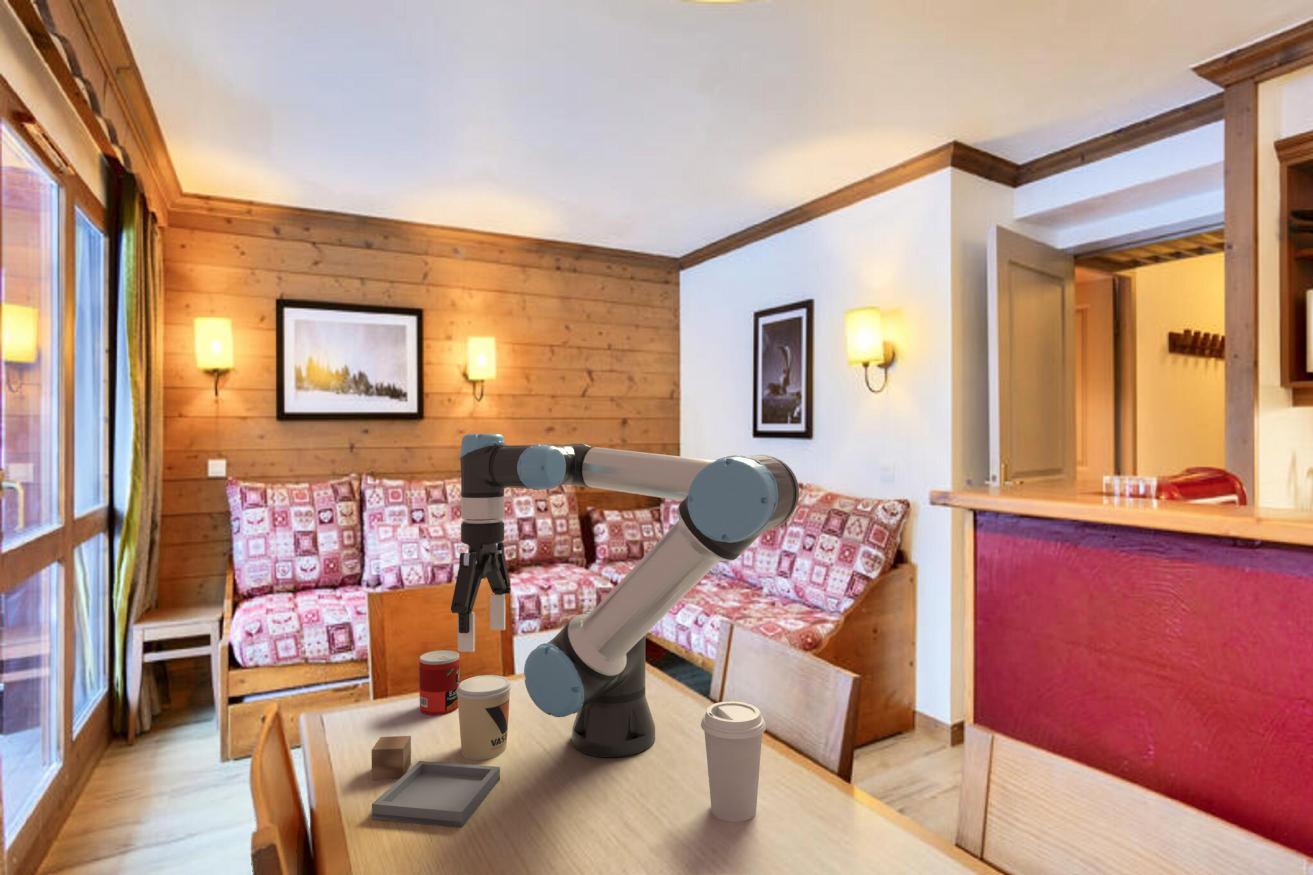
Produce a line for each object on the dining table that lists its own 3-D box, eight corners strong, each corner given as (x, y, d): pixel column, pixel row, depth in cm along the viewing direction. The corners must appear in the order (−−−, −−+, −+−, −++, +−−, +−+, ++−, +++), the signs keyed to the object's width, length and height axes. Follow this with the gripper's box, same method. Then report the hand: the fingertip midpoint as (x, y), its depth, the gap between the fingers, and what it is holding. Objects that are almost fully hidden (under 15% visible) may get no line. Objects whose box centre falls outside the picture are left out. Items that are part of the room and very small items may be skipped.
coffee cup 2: (700, 796, 109) (699, 699, 109) (762, 796, 109) (761, 699, 109) (702, 830, 100) (701, 724, 100) (770, 831, 99) (769, 724, 99)
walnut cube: (410, 764, 120) (410, 735, 121) (403, 778, 116) (403, 748, 116) (380, 766, 120) (380, 736, 120) (371, 780, 115) (371, 749, 115)
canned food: (453, 716, 141) (453, 661, 141) (413, 716, 141) (413, 661, 141) (464, 702, 149) (464, 649, 149) (426, 702, 149) (426, 649, 149)
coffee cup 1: (497, 764, 120) (497, 694, 120) (447, 760, 122) (446, 690, 122) (519, 741, 129) (518, 676, 129) (471, 737, 131) (471, 672, 131)
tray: (499, 780, 115) (499, 766, 115) (462, 827, 101) (461, 811, 101) (419, 773, 117) (419, 760, 117) (371, 818, 103) (371, 803, 103)
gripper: (490, 512, 139) (490, 620, 139) (429, 528, 114) (429, 660, 114) (527, 513, 137) (527, 622, 137) (472, 529, 113) (473, 662, 113)
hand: (482, 639), depth 126 cm, fingers open, 13 cm apart
